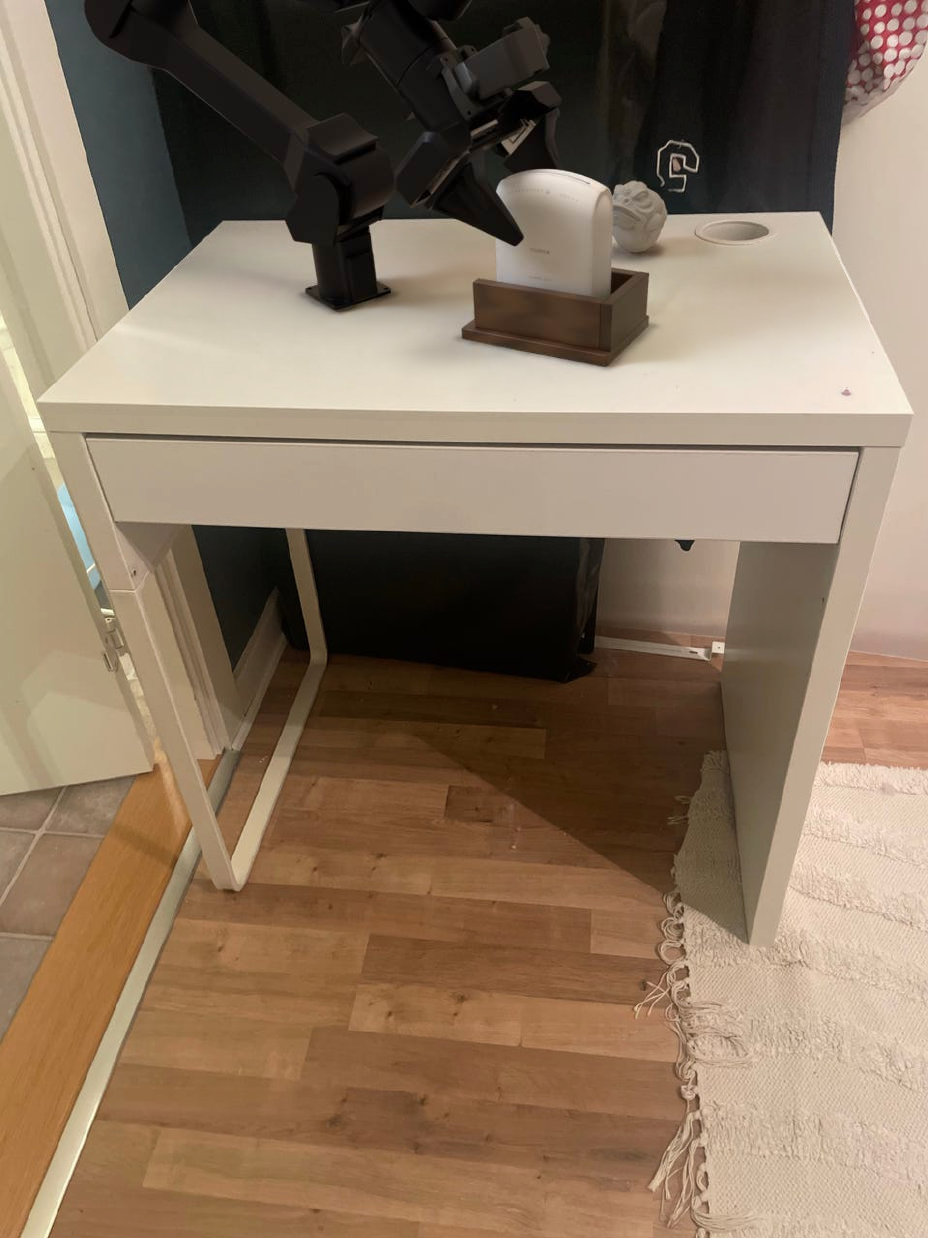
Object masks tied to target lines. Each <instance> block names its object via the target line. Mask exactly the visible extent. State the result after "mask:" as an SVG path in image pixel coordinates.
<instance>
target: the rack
mask: <svg viewBox="0 0 928 1238" xmlns="http://www.w3.org/2000/svg"><path fill="white" fill-rule="evenodd" d="M649 283H650V273H649V272H647V271H639V270H632V269H626V268H625V269H624V268H617V267H613V266H611V295H610V296H609V297H608V298H607V299H604V298H598V297H591V296H585V295H579V294H573V293H567V292H560V291H554V290H548V289H542V288H536V287H529V286H523V285H517V284H511V283H505V282H498V281H497V280H491V279H485V278H476V279H475V280H473V281H472V297H473V315H474V318H473V319H472V320H471V321H469V322H468V323H466V324H465V325H464V326H462V327H461V331H460V332H461V339H463V340H467V341H473V342H478V343H482V344H488V345H493V346H499V347H504V348H507V349H513V350H519V351H524V352H530V353H533V354H534V353H535V354H540V355H544V356H551V357H556V358H559V359H565V360H570V361H574V362H580V363H585V364H591V365H596V366H601V367H608V366H609V364H611V362H613V361H614V360H615V359H616V358H617V357H618V356H619V355H620V354H621V353H622V352H623V351H624V350H625V349H626V348H627V347H628V346H629V345H631V344H632V342H634V340H636V339H637V338H638V337H639V336H640V335H641V334H642V333H643V332H644V331H645V330H646V329H647V328H648V327H649V324H650V315H648V314H647V312H648V311H647V310H648V298H649Z"/></svg>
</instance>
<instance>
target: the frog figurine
mask: <svg viewBox="0 0 928 1238" xmlns="http://www.w3.org/2000/svg"><path fill="white" fill-rule="evenodd" d="M612 199H613V230H612V237H613V238H614V240H615V243H616V244H617V245H618V246H619V247H620V248H621V249H623V250H624V251H626V252H629V253H641V252H645V251H647V250H649V249H650V248H651V247H653V246H654V245H655V244H656V242H657V241H658V240H659V238H660V236H661V233H662V230H663V228H664V226H665V223H666V221H667V219H668V210H667V208H666V204H665V201H664V199H662V197H661V196H660V195H659V194H658V193H657V192H656V191H654V190H652V189H650V188H648V187H647V184H645V183H644V182H643V181H637V180H631V181H629V182H627V183H625V184H616V185H615V187H614V189H613V194H612Z"/></svg>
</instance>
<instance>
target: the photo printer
mask: <svg viewBox="0 0 928 1238" xmlns="http://www.w3.org/2000/svg"><path fill="white" fill-rule="evenodd" d="M495 191H496V192H497V194H498V195H499V197H500V198H501V200H502V201H503V203H504V204H505V206H506V207H507V209H508V210H509V212H510V213H511V215H512V216H513V218H514V219H515V221H516V223H517V224H518V226H519V228H520V230H521V232H522V233H523V235H524V239H523V240H522V241H521V243H520V244H519V245H517V246H512V245H510V244H508V243H506V242H504V241H502V240H499V239H497V238H495V237H494V239H495V240H494V241H495V242H494V243H495V261H496V281H498V282H505V283H511V284H517V285H523V286H529V287H536V288H542V289H548V290H554V291H560V292H567V293H573V294H579V295H585V296H591V297H598V298H604V299H607V298H608V297H609V296H610V295H611V267H612V259H613V256H612V255H613V235H612V230H613V199H612V196H613V194H612V192H611V190H610V188H609V187H608V186H606V185H605V184H603V183H600V182H599V181H597V180H595V179H593V178H590V177H587V176H585V175H582V174H579V173H575V172H572V171H567V170H564V171H562V170H553V169H536V170H528V171H524V172H520V173H516V174H513V173H512V174H511V175H509V176H507V177H506V178H504V179H501V180H500V182H499V183H498V185H497V187H496V190H495Z"/></svg>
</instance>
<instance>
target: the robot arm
mask: <svg viewBox="0 0 928 1238" xmlns="http://www.w3.org/2000/svg"><path fill="white" fill-rule="evenodd" d="M293 1H294V2H296V3H298V4H301V5H303V6H305V7H308V8H310V9H312V10H315V11H317V12H319V13H322V14H334V13H338V12H342V11H346V10H349V9H352V8H356V7H360V6H364V5H367V6H366V7H365V8H364V11H363V12H362V14H361V16H360V18H359V19H358V21H357V22H355V23H352V24H348V25H345V26H342V27H341V35H342V39H343V40H342V48H341V62H342V64H343V65H344V66H345V67H351V66H353V65H355V64H358V63H361V62H365V61H368V60H371V62H372V63H373V64H374V66H375V67H376V68H377V69H378V71H379V72H380V74H381V75H382V76H383V77H384V78H385V80H386V81H387V82H388V83H389V85H390V86H391V87H392V89H393V90H394V91H395V92H396V93H397V95H398V96H399V97H400V99H401V100H402V101H403V102H402V103H401V105H400V106H399V108H398V109H397V113H398V114H399V115H400V116H401V117H402V120H404V121H405V122H407V121H409V120H412V119H414V118H416V119H417V120H418V121H419V123H420V124H421V125H422V126H423V128H424V129H425V130H423V131H422V133H421V135H420V136H419V137H418V139H417V140H416V141H415V143H414V144H413V146H412V147H411V148H410V150H409V151H408V153H407V154H406V155H405V157H404V158H403V159H402V160H401V162H400V163H399V164H398V166H397V167H396V169H395V170H394V171H393V167H392V163H393V162H392V159H391V158H390V156H389V154H388V153H387V152H386V150H384V148H382V147H381V146H380V145H378V143H380V141H381V138H380V136H377V135H373V134H371V133H369V132H368V131H366V130H365V129H364V128H362V126H361V125H360V124H359V123H358V122H357V121H356V120H355V119H354V118H353V117H352V116H350V115H349V114H347V113H344V112H343V113H340V114H338V115H335V116H333V117H330V118H327V119H324V120H322V121H319V120H317V119H315V118H313V117H312V116H311V115H310V114H308V113H307V112H306V111H304V110H303V109H302V108H301V107H299V105H297V104H296V103H294V102H293V101H292V100H291V99H290V98H288V97H287V96H286V95H285V94H284V93H282V92H281V91H280V90H278V89H277V88H276V87H275V86H274V85H272V84H271V83H270V82H269V81H267V80H266V79H265V78H264V77H263V76H261V75H260V74H259V73H257V72H256V71H255V70H254V69H252V68H251V67H250V66H248V65H247V64H246V63H245V62H244V61H242V60H241V59H240V58H239V57H238V56H236V54H234V53H232V52H231V51H230V50H229V49H227V48H226V47H225V46H224V45H223V44H221V43H220V42H219V41H217V40H216V39H215V38H214V37H212V36H211V35H210V34H209V33H207V32H206V31H205V30H204V29H203V28H202V27H201V26H200V25H199V24H198V21H197V18H196V16H195V13H194V10H193V7H192V4H191V2H190V0H84V1H83V6H84V7H83V9H84V16H85V19H86V22H87V23H88V25H89V27H90V31H91V33H92V34H93V35H94V37H95V38H96V40H98V41H99V42H100V43H101V45H102V46H104V47H105V48H107V49H109V50H110V51H112V52H114V53H115V54H117V55H119V56H121V57H123V58H124V59H125V60H128V61H129V62H133V63H136V64H140V65H144V66H146V67H151V68H154V69H159V70H162V71H165V72H167V73H168V74H169V75H171V76H172V77H173V78H174V79H176V80H177V81H178V82H179V83H181V84H182V85H184V86H185V87H186V88H187V89H188V90H189V91H191V92H192V93H193V94H195V95H196V96H197V97H198V98H199V99H201V100H202V101H203V102H204V103H206V105H208V106H209V107H211V108H212V109H213V110H214V111H215V112H217V113H218V114H219V115H220V116H222V117H223V118H224V119H225V120H226V121H228V122H229V123H230V124H232V125H233V126H234V127H235V128H237V129H238V130H239V131H240V132H242V133H243V134H244V135H245V136H246V137H248V138H249V139H250V140H251V141H253V142H254V143H255V144H256V145H257V146H259V147H260V148H261V149H263V150H264V151H265V152H266V153H268V154H269V155H270V156H271V157H273V158H274V159H275V160H276V161H277V162H279V164H281V166H283V169H284V171H285V175H286V176H287V180H288V182H289V185H290V187H291V191H292V193H293V194H294V195H295V196H296V197H297V199H295V202H294V203H293V205H292V206H291V207H290V209H289V211H288V212H287V213H286V215H285V216H284V222H285V225H286V227H287V229H288V232H289V234H290V237H291V238H292V240H293V242H296V243H302V244H303V243H304V244H308V245H309V244H310V245H311V250H312V258H313V262H314V270H315V276H316V283H317V284H314V285H311V286H307V287H305V288H304V293H305V295H307V296H309V297H310V298H312V299H314V300H316V301H318V302H319V303H321V304H323V305H324V306H325V307H328V308H329V309H332V310H333V311H341V310H344V309H348V308H350V307H355V306H357V305H360V304H363V303H366V302H370V301H373V300H376V299H379V298H382V297H383V298H384V297H386V296H389V295H391V294H392V288H391V287H390V286H388V285H386V284H385V283H382V282H380V281H378V278H377V272H376V261H375V254H374V250H373V248H374V247H373V240H372V233H371V227H370V226H371V225H373V224H376V223H377V222H381V221H383V220H385V216H386V210H387V205H388V202H389V201H390V199H391V197H392V196H393V193H394V189H395V191H396V192H397V193H398V194H399V196H400V197H401V198H402V199H403V201H404V202H405V203H406V204H407V206H408V208H410V209H413V208H414V207H417V206H419V205H421V204H423V203H424V204H423V205H422V208H423V209H424V210H425V211H426V212H430V211H435V212H437V213H439V214H442V215H444V216H447V217H449V218H452V219H454V220H456V221H459V222H462V223H463V224H466V225H468V226H470V227H472V228H475V229H477V230H479V231H481V232H483V233H485V234H487V235H489V236H492V237H494V239H495V238H497V239H499V240H502V241H504V242H506V243H508V244H510V245H512V246H517V245H519V244H520V243H521V241H522V240H523V239H524V235H523V233H522V232H521V230H520V228H519V226H518V224H517V223H516V221H515V219H514V218H513V216H512V215H511V213H510V212H509V210H508V209H507V207H506V206H505V204H504V203H503V201H502V200H501V198H500V197H499V195H498V194H497V192H496V191H497V190H496V189H495V188H494V186H493V185H492V183H491V182H490V180H489V178H488V177H487V173H486V172H487V171H486V162H485V152H486V151H487V150H489V149H491V151H492V152H493V154H495V155H497V156H499V157H501V158H503V159H505V161H504V162H502V166H503V167H504V168H506V169H507V170H508V171H509V172H510V173H512V175H513V174H516V173H520V172H524V171H528V170H536V169H553V170H562V171H565V170H564V168H563V167H564V166H563V165H562V162H561V159H560V156H559V153H558V150H557V146H556V143H555V132H556V131H555V130H556V124H557V122H556V121H557V120H558V119H559V118H560V109H559V107H560V105H561V104H562V102H563V99H562V97H561V96H560V95H559V94H558V92H557V91H556V89H555V88H554V87H553V85H551V83H550V81H538V80H535V81H533V82H530V83H528V84H525V85H524V86H522V87H520V88H517V89H516V90H515V91H514V92H513V91H512V89H510V87H513V86H515V85H517V84H519V83H520V82H522V81H524V80H526V79H529V78H531V77H533V76H534V75H535V74H537V75H540V74H542V73H544V72H546V71H547V70H549V69H550V65H549V62H548V60H547V57H546V56H547V53H548V49H549V45H550V42H551V41H550V37H549V35H548V34H546V33H544V32H542V30H541V27H540V24H535V23H534V22H533V21H532V19H530V18H529V17H528V16H525V17H522V18H520V19H517V20H515V22H514V23H513V24H511V25H508V26H506V27H504V28H503V29H502V37H501V38H499V39H498V40H496V41H495V42H492V43H490V44H489V45H488V46H486V47H485V48H483V49H481V50H480V51H477V49H476V48H475V47H474V46H473V45H468V44H465V45H462V46H459V47H456V45H455V44H454V42H453V41H452V39H450V38H449V37H448V35H447V34H446V32H445V31H444V30H443V28H442V27H441V25H440V24H438V22H440V21H443V20H444V21H445V20H446V21H449V22H450V21H451V22H456V21H458V20H459V19H460V18H461V17H462V16H463V14H464V13H465V11H466V10H467V9H468V7H469V6H470V4H471V3H472V2H473V0H293ZM501 107H502V108H501Z"/></svg>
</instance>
